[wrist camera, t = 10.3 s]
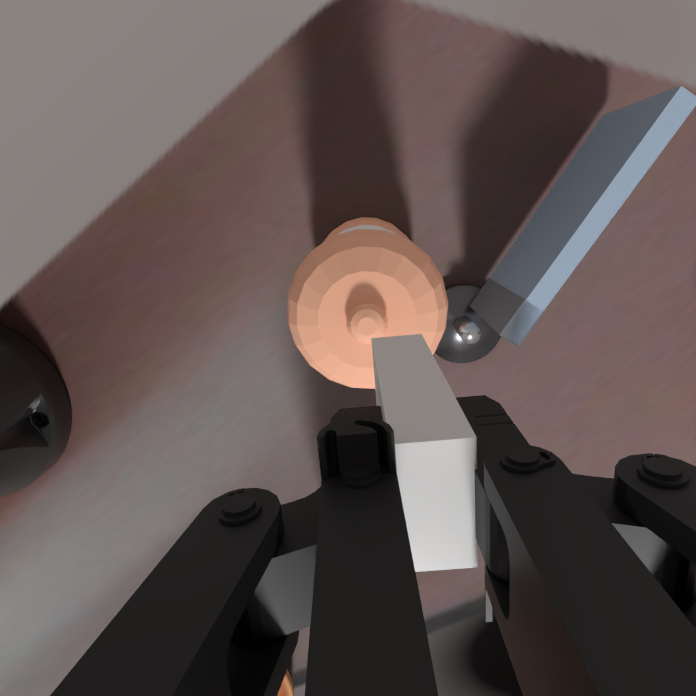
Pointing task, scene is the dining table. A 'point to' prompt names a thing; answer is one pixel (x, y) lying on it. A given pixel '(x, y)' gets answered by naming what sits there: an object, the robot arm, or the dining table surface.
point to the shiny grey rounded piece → (465, 328)
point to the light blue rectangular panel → (578, 210)
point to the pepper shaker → (363, 299)
